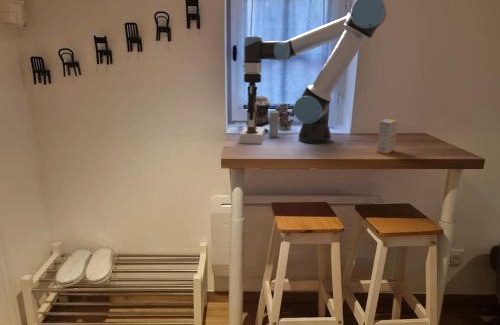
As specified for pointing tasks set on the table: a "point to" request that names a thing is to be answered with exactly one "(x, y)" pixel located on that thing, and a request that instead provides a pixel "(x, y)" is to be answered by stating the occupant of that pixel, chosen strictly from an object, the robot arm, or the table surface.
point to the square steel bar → (273, 124)
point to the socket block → (252, 136)
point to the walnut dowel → (253, 129)
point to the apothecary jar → (262, 111)
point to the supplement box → (386, 136)
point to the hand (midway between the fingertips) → (251, 125)
